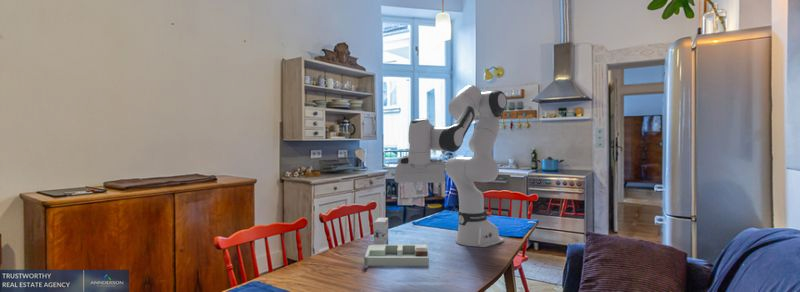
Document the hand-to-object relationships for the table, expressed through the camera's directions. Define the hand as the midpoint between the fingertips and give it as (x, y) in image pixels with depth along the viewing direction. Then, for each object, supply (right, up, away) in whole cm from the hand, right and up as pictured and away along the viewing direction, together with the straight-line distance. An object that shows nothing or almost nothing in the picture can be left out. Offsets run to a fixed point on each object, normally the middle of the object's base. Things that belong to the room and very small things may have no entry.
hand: (419, 193), depth 155 cm
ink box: (-16, -26, +18) cm, 36 cm away
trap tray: (-9, -26, -2) cm, 28 cm away
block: (0, -25, -6) cm, 26 cm away
